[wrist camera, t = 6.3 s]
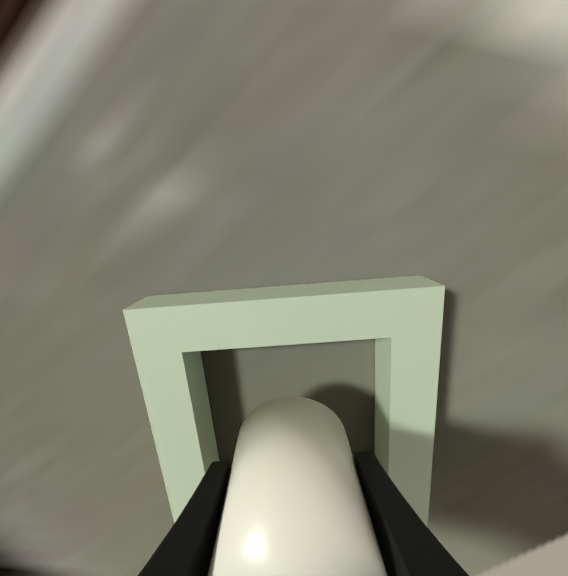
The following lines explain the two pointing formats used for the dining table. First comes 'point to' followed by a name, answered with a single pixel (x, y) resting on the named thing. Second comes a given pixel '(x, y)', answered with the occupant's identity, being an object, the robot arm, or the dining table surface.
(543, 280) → the dining table surface
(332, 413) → the white egg shape
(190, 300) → the holder
